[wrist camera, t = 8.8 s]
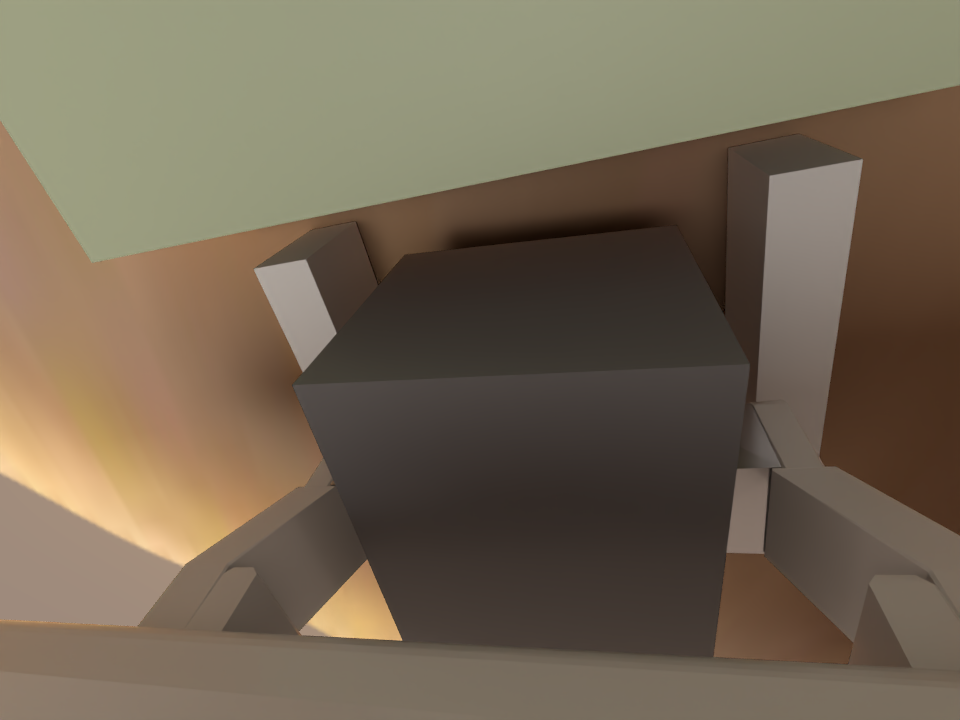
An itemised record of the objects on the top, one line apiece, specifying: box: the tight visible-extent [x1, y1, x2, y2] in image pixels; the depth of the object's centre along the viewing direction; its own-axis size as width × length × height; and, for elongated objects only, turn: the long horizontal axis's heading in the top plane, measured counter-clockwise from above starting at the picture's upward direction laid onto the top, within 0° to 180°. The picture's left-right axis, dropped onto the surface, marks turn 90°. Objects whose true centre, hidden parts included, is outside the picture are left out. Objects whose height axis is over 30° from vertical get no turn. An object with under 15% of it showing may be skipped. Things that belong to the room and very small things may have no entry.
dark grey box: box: [292, 225, 750, 657], centre depth 9 cm, size 5×7×4 cm
